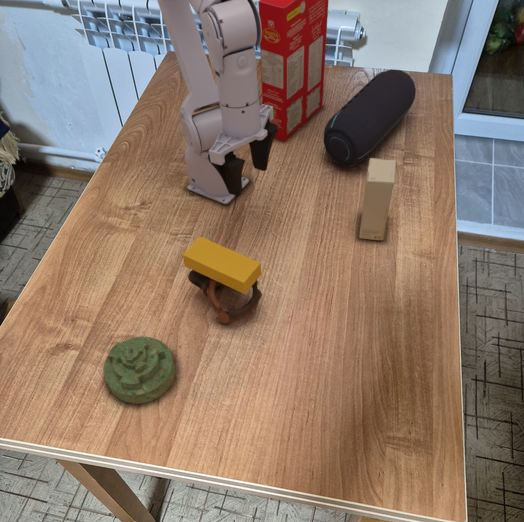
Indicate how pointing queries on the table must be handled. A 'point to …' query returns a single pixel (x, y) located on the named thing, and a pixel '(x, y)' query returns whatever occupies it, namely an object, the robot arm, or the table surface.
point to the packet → (222, 264)
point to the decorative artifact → (139, 370)
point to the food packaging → (292, 60)
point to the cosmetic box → (377, 198)
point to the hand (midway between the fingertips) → (248, 181)
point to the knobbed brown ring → (223, 315)
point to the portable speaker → (369, 117)
